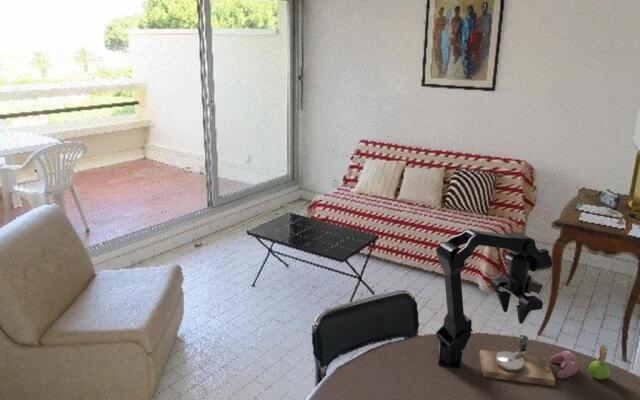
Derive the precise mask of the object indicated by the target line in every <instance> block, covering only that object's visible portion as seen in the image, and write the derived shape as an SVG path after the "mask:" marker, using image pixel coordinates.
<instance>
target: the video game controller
mask: <svg viewBox="0 0 640 400" xmlns="http://www.w3.org/2000/svg"><path fill="white" fill-rule="evenodd" d="M550 363H552V364H558V363H560V368H563V369H560V370H559V371H557V373H556V377H557V378H558V379H565V378H566V379H567V378H569V377H571V376H573V375H575V374H576V373H577V372H578V370H579V364H578V359H577V358H576V355H575V354H574V353H572V352H571V351H568V350H565V351H564V350H562V351H561V352H559V353H557V354H554V355H552V356H551V357H550Z"/></svg>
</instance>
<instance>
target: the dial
mask: <svg viewBox="0 0 640 400" xmlns="http://www.w3.org/2000/svg"><path fill="white" fill-rule="evenodd" d="M528 339H529V337H528V336H527V335H525V334H523V335H522V334H520V335H519V340H518V346H517V347H518V348H517V351H515V352H512V351H506V350H505V351H504V350H503V351H498V352H499V353H498V354H497V357H496V364H497V365H498V366H499V367H500V368H502V369H504V370H506V371H510V372H519V371H522V370H523V368H524V359H523V358H522V356H523V355H526V351H527V346H528V341H529V340H528Z"/></svg>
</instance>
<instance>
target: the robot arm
mask: <svg viewBox="0 0 640 400" xmlns="http://www.w3.org/2000/svg"><path fill="white" fill-rule="evenodd" d="M462 245H464V247H463V248H461V247H459V246H462ZM479 246H483V247H491V248H498V249H506V250H509V251H511V252H509V253H508V254H506V255H505V256H504V260H506V261H509V266H508V267H509V269H508V273H505V276H504V277H496V278H493V279H492V280H491V281H490V287H491V288H492V289H494V290H493V292H494V293H495V294H496V296H497V299H498V301H499V303H500V306H501V309H502V311H503V313H507V312H508V309H509V305H510V299H511V296H513V297H516V298H517V299H519V300H518V304H517V305H515V307H516V313H517V320H518V324H519V325H520V324H523V323H524V322H525V320H526V319H527V317H528V315H529V314H530V313H531V311H539V310H542V309H543V308H544V302H543V301H542V299H540V298H538V296H536V295H526V294H531V293H536V294H537V295H540V294H541V292H542V289H543V288H544V285H543V284H542V283H540V282H539V281H537V280H536V279H534V278H532V275H531V274H529V271H530V272H532V273H535V272H541V271H547V270H548V271H549V270H551V268H552V266H553V263H554V262H553V260H552V257H551V255H550V254H549V253H550V251H549V250H548V249H547V248H540V249H538V248H537V246H536V241H535V239H534V238H533V237H530V236H528V235H525V234H523V233H522V232H519V231H518V232H517V231H516V232H515V231H514V232H508V233H505V234H503V233H502V234H501V233H498V232H497V233H496V232H490V231H489V232H488V231H481V230H475V229H473V228H467V229H465V230H464V231H463V232H461V233H460V234H457V235H454V236H451V237H449V238H448V239H446V240H445V241H444V242H442V243H441V244H439V246H437V248H436V256H437V259H438V263H439V265H440V267H441V268H442V271H443V273H444V283H445V285H444V286H445V296H446V306H447V307H446V308H447V313H446V314H445V316H444V318H443V325H442V326H441V327H440V328H439V329H438V330H437V331H436V332H435V336H436V338H437V339H438V340H439V345H438V347H439V348H438V353H437V363H438V364H437V365H438V366H440V367H448V368H456V369H460V368H461V367H460V366H461V365H460V364H462V358H463V357H462V356H463V351H464V350H465V349H466V346H467V343H468V342H469V340H470V338H471V336H472V333H473V331H474V330H473V329H472V324H473V323H472V319H471V318H470V317H469V316H467V315H466V314H465V311H464V310H465V309H464V298H463V297H464V296H463V286H462V272H463V270H464V268H465V266H466V261H467V260H468V259H469V258H470V257H471V256H472V255H473V254H474V251H475V250H476V248H478V247H479ZM513 252H515V253H513Z"/></svg>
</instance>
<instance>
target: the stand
mask: <svg viewBox="0 0 640 400" xmlns="http://www.w3.org/2000/svg"><path fill="white" fill-rule="evenodd" d="M499 352H500V351H494V350H493V351H492V350H487V349H486V350H485V349H480V350H479V355H478V356H479V359H480V360H479V361H480V365H481V366H480V367H481V370H482V371H481V372H482V376H483V377H484V378H490V379H498V380H506V381H512V382H519V383H520V382H522V383H529V384H536V385H544V386H552V387H555V385H556V378H555V376H554V374H553V373H554V372H553V371H552V369H551V367H550V364H549V362H548V360H547V359H548V358H547V357H542V356H536V355H535V356H534V355H526V354H524V355H523V356H522V358H523V359H524V368H523V370H522V371H519V372H510V371H506V370H504V369H502V368H500V367H499V366H498V365H497V364H496V357H497V354H498V353H499Z"/></svg>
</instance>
